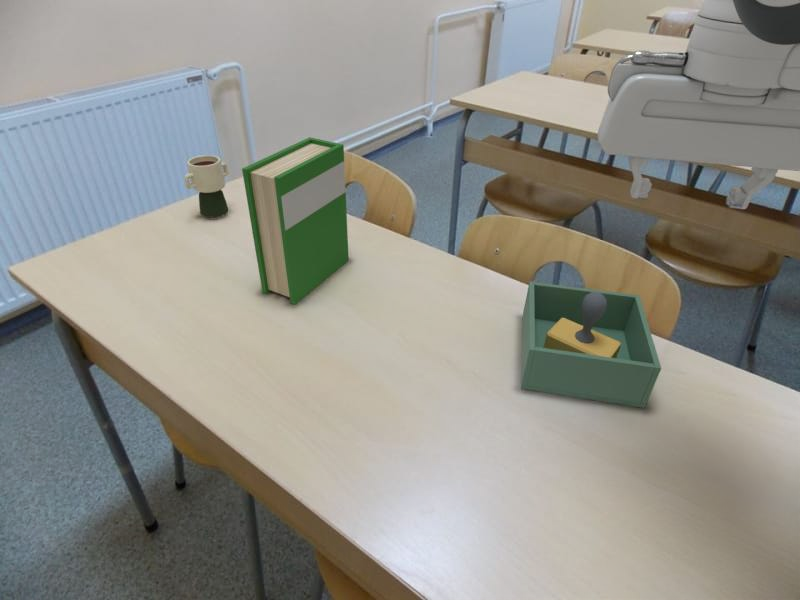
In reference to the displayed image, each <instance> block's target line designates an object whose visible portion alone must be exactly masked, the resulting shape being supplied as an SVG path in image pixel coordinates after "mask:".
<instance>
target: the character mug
mask: <svg viewBox="0 0 800 600" xmlns="http://www.w3.org/2000/svg"><path fill="white" fill-rule="evenodd" d="M187 169H188V173H185V174H184V175H183V180H184V184H185V187H186V189H187V190H190V189H194V190H195V191H196V192H198V203H199V204H198V205H199V213H200V215H201V216H203V217H207V218H220V217H223V216H225V215H227V213H228V212H229V207H228V203H227V200H226V197H225V194H224V192H223V189H224V188H225V186H226V181H225V177H227V176H229V169H228V164H227V162H226V161H222V160H221V157H219V156H218V155H214V154H213V155H212V154H202V155H201V154H200V155H195V156H193V157H191V158H189V159H187Z"/></svg>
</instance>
